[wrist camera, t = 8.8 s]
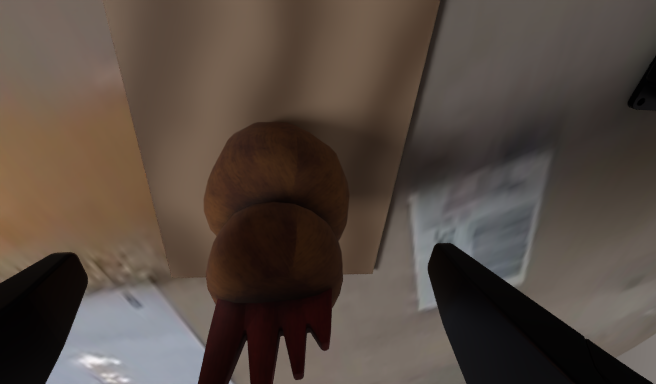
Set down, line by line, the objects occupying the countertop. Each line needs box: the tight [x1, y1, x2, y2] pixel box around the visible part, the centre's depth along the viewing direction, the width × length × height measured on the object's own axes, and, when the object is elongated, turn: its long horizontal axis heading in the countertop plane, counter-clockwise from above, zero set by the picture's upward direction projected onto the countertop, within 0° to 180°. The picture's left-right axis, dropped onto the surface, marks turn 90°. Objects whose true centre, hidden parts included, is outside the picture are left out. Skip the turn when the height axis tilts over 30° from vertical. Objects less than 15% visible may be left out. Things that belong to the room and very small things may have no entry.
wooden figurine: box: [198, 122, 350, 384], centre depth 13 cm, size 7×6×15 cm
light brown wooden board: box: [103, 0, 440, 278], centre depth 20 cm, size 16×22×2 cm
